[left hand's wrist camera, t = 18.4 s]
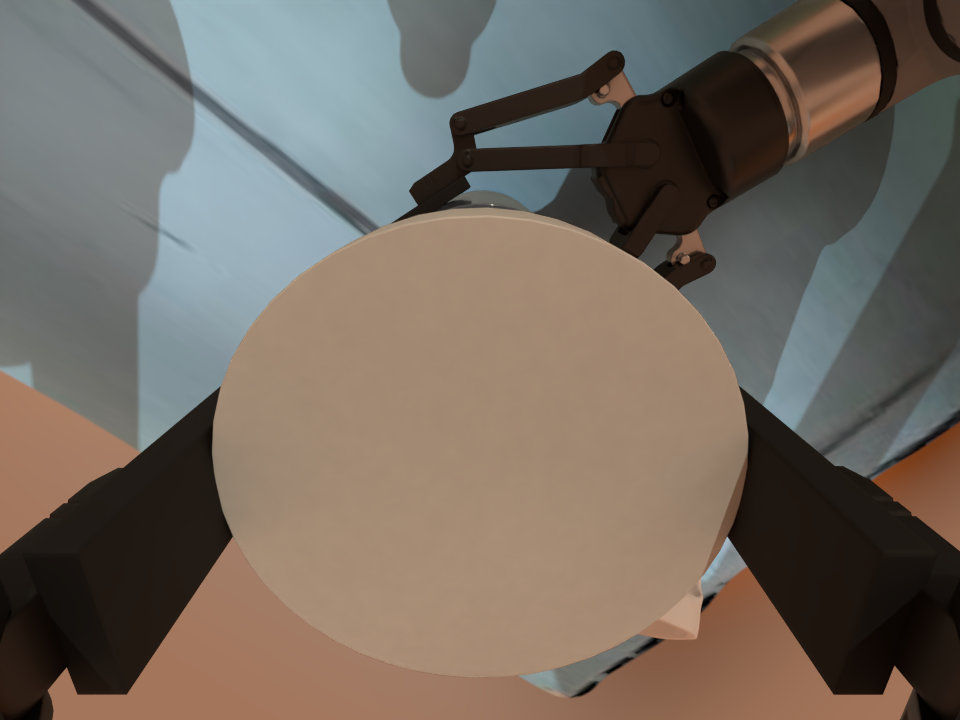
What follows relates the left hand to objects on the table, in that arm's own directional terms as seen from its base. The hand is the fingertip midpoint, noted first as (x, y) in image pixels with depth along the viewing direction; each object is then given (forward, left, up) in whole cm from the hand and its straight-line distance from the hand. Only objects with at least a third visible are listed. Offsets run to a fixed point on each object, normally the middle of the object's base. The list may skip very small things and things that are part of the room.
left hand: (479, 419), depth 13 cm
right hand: (-4, 0, -20) cm, 20 cm away
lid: (0, 0, +3) cm, 3 cm away
